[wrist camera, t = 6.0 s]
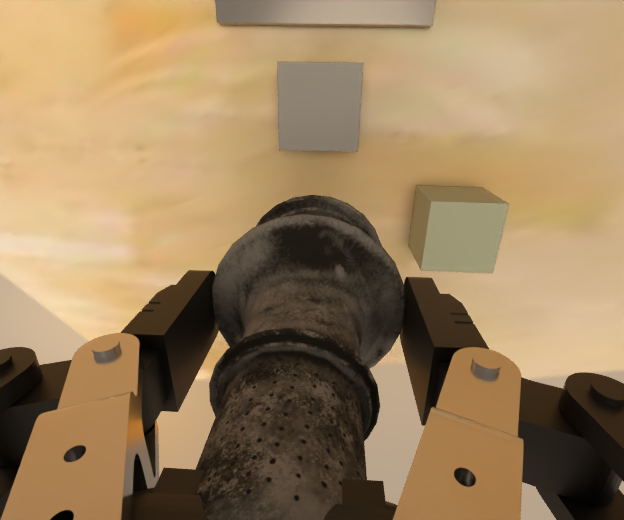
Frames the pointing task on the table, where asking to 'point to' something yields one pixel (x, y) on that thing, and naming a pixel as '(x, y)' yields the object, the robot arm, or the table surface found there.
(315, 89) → the grey block
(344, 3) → the grey tile
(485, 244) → the sage block
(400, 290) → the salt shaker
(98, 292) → the table surface
